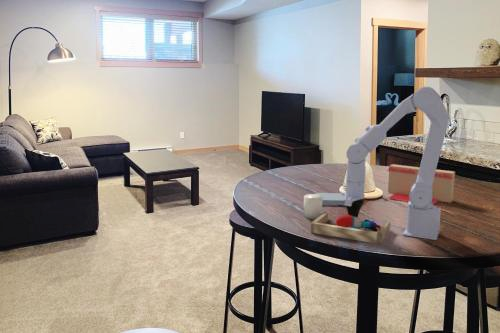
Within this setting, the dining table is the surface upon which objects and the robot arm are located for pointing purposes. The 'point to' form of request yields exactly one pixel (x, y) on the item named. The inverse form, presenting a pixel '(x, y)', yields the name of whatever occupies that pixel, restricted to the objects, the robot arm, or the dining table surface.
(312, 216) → the cream rounded block
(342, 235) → the wooden tray
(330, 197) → the slate box
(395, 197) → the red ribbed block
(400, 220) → the dining table surface
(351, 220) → the toy figure
